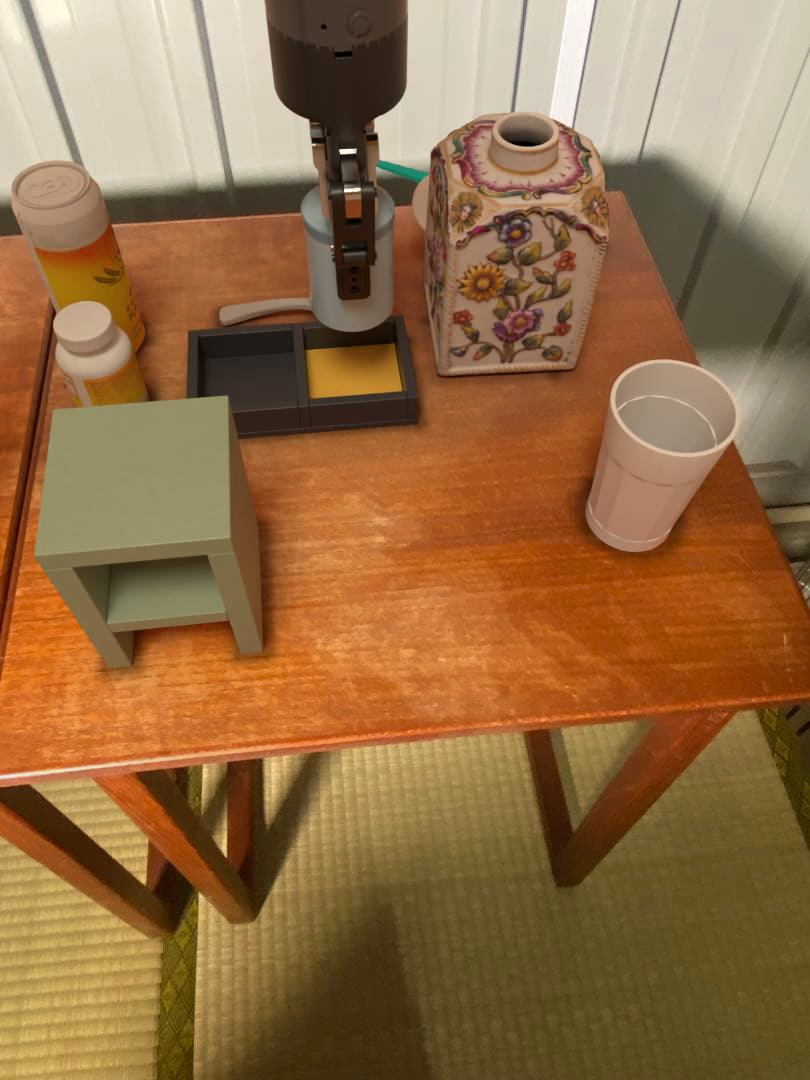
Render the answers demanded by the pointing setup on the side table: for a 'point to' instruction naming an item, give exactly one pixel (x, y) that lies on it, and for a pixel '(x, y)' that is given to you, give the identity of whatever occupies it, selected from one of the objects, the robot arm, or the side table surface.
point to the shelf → (150, 522)
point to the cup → (657, 450)
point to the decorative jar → (513, 244)
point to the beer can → (74, 241)
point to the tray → (306, 376)
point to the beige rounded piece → (421, 203)
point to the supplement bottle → (96, 357)
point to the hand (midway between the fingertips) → (349, 262)
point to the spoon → (261, 309)
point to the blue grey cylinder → (324, 272)
